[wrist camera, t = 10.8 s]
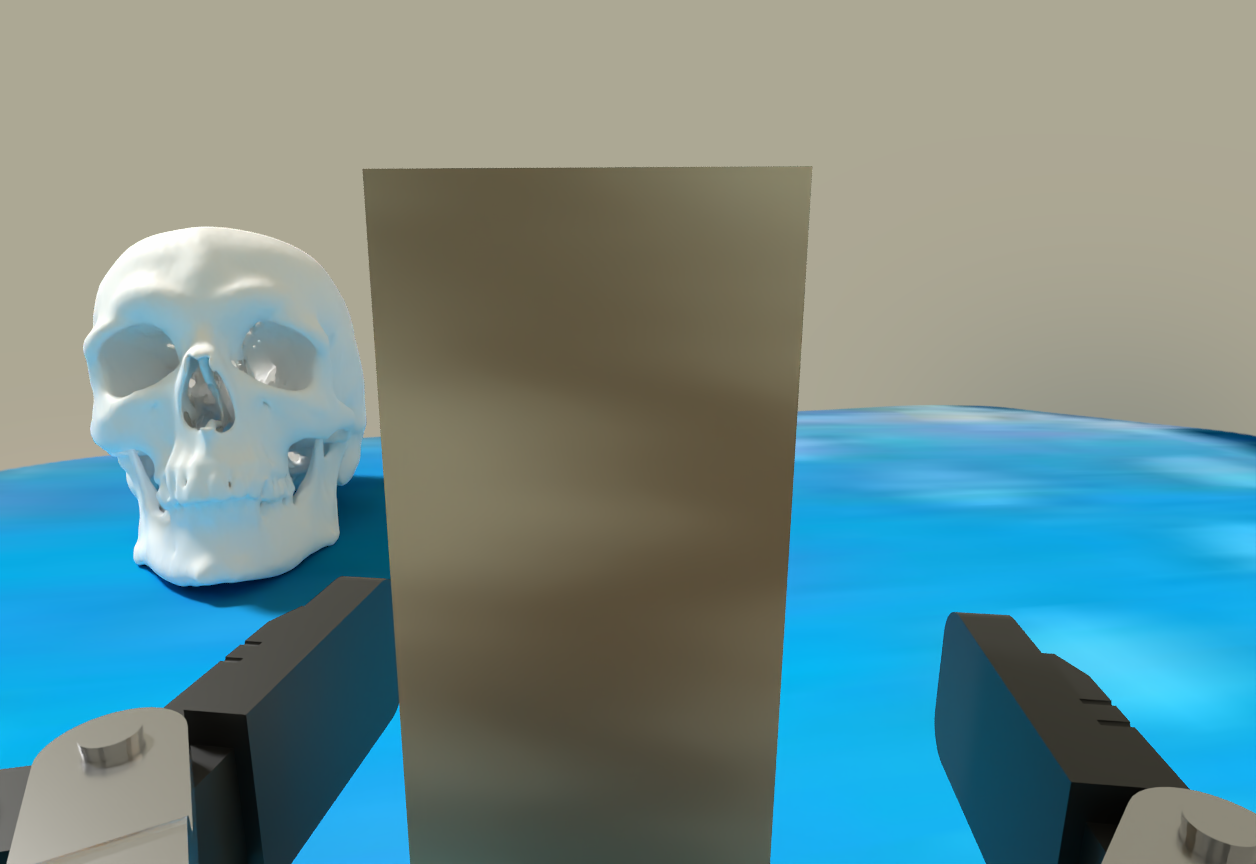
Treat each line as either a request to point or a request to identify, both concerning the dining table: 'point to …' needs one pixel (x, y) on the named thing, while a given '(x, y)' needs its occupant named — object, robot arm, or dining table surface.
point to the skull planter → (226, 401)
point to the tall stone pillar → (588, 502)
